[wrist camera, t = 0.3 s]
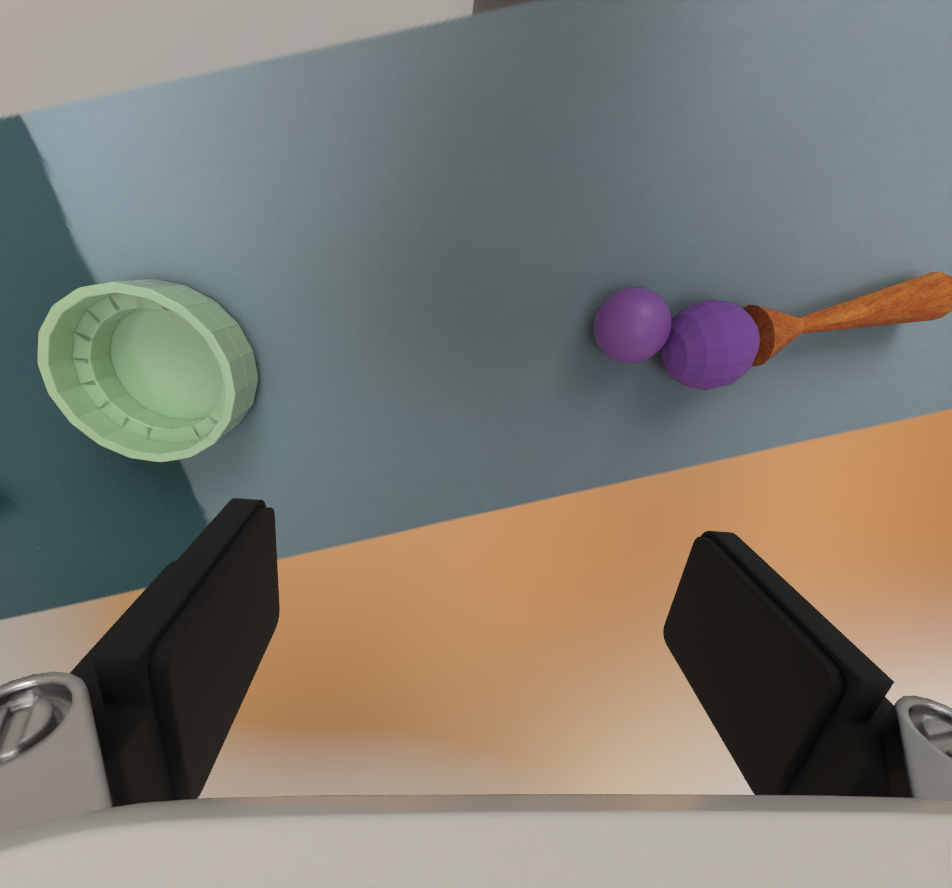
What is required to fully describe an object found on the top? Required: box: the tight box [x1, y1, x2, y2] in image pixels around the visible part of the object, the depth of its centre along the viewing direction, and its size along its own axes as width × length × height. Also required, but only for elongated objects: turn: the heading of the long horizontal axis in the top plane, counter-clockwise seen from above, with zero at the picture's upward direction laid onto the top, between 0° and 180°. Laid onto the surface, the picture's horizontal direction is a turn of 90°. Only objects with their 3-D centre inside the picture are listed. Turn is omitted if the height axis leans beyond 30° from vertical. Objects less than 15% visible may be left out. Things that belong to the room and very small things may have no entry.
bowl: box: [37, 279, 258, 462], centre depth 30 cm, size 11×11×4 cm
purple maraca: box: [661, 272, 952, 390], centre depth 31 cm, size 6×6×20 cm
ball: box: [594, 287, 671, 363], centre depth 31 cm, size 5×5×5 cm
